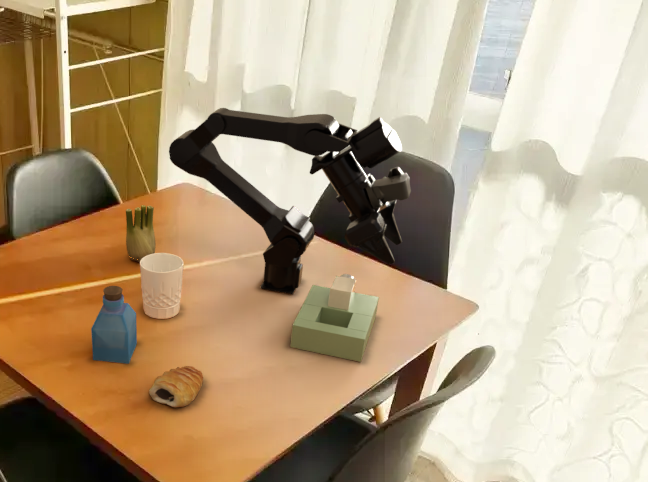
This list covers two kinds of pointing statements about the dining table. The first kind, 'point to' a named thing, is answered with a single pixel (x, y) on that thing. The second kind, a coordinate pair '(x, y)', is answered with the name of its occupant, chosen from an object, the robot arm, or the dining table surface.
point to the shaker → (342, 292)
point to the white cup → (161, 284)
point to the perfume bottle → (114, 328)
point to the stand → (334, 325)
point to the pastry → (177, 386)
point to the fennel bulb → (140, 233)
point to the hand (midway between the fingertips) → (395, 253)
